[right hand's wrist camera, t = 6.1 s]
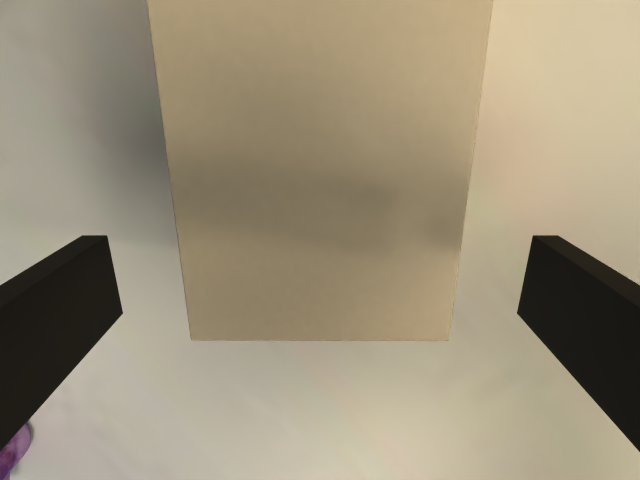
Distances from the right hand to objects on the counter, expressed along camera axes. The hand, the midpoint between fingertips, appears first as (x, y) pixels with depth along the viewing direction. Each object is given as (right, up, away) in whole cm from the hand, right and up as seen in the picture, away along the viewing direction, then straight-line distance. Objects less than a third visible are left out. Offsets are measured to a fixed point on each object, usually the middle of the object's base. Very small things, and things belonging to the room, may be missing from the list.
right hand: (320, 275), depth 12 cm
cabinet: (0, +10, +9) cm, 13 cm away
